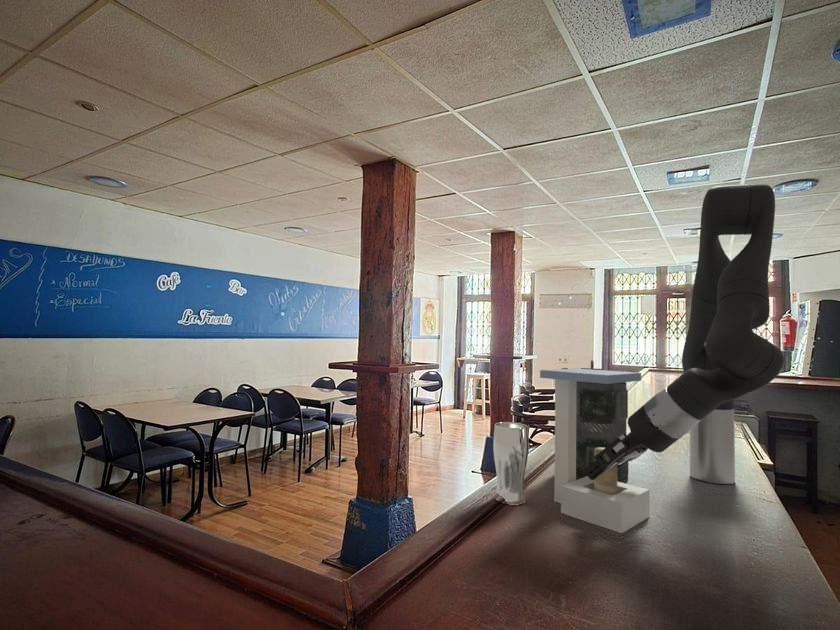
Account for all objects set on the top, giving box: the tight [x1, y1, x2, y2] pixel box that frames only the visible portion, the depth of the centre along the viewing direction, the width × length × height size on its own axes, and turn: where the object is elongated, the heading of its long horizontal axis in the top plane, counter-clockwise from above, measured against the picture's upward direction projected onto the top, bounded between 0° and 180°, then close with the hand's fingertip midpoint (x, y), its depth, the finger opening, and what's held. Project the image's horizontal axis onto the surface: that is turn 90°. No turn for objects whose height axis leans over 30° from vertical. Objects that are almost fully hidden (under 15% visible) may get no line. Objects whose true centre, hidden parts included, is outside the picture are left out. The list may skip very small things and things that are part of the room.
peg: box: [594, 447, 617, 495], centre depth 85 cm, size 4×4×12 cm
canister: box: [561, 359, 629, 484], centre depth 107 cm, size 16×16×28 cm
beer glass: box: [492, 421, 529, 504], centre depth 92 cm, size 7×7×15 cm
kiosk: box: [539, 368, 651, 534], centre depth 87 cm, size 14×16×26 cm
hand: (599, 471), depth 86 cm, fingers open, 8 cm apart
